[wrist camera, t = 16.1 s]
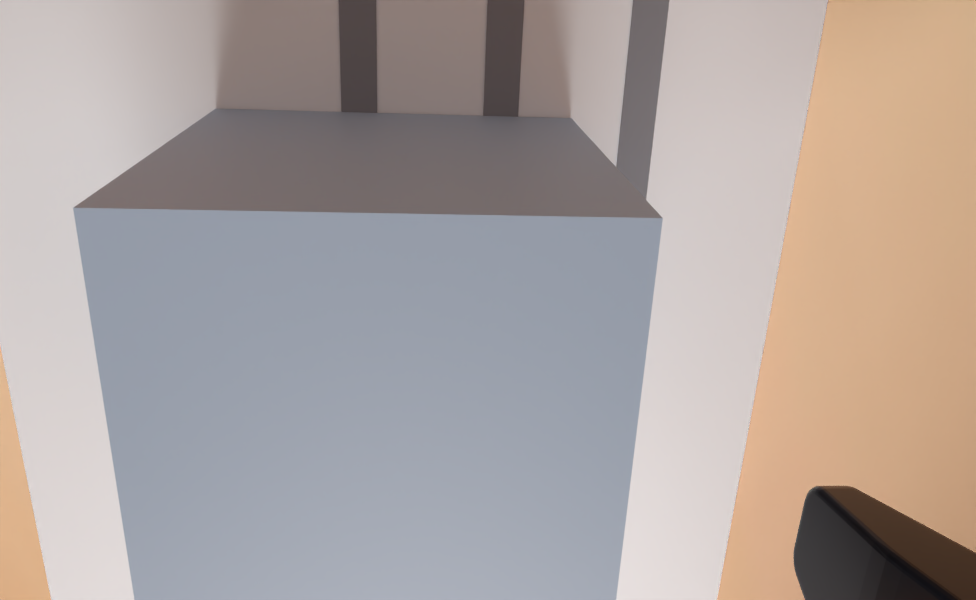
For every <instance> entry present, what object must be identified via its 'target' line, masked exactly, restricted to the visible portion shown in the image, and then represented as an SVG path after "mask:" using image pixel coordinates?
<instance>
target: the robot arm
mask: <svg viewBox="0 0 976 600" xmlns="http://www.w3.org/2000/svg"><path fill="white" fill-rule="evenodd" d="M794 567H795V572H796V575H797V578H798V581H799V584H800V587H801V590H802V592H803V595H804V598H805V600H976V553H975V552H973V551H971V550H969V549H967V548H966V547H964V546H962V545H960V544H958V543H956V542H954V541H952V540H951V539H949V538H947V537H945V536H943V535H941V534H939V533H938V532H936V531H934V530H932V529H930V528H928V527H926V526H925V525H923V524H921V523H919V522H917V521H915V520H913V519H911V518H910V517H908V516H906V515H904V514H902V513H900V512H898V511H897V510H895V509H893V508H891V507H889V506H887V505H885V504H884V503H882V502H880V501H878V500H876V499H874V498H872V497H870V496H869V495H867V494H865V493H863V492H861V491H859V490H857V489H855V488H853V487H849V486H816V487H814V488H812V489H811V490H810V491H809V492H808V494H807V496H806V499H805V502H804V507H803V511H802V516H801V520H800V525H799V529H798V534H797V538H796V543H795V547H794Z"/></svg>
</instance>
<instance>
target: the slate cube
mask: <svg viewBox="0 0 976 600" xmlns="http://www.w3.org/2000/svg"><path fill="white" fill-rule="evenodd" d="M73 211H74V217H75V224H76V230H77V236H78V243H79V249H80V255H81V262H82V268H83V275H84V281H85V287H86V294H87V300H88V306H89V313H90V319H91V326H92V332H93V338H94V345H95V351H96V358H97V364H98V370H99V377H100V383H101V389H102V396H103V402H104V409H105V415H106V421H107V428H108V434H109V440H110V447H111V453H112V460H113V466H114V472H115V479H116V485H117V492H118V498H119V504H120V511H121V517H122V523H123V530H124V536H125V543H126V549H127V555H128V562H129V568H130V575H131V581H132V587H133V594H134V600H616V596H617V588H618V580H619V572H620V564H621V556H622V547H623V539H624V531H625V523H626V515H627V507H628V498H629V490H630V482H631V474H632V466H633V458H634V449H635V441H636V433H637V425H638V417H639V409H640V400H641V392H642V384H643V376H644V368H645V360H646V351H647V343H648V335H649V327H650V319H651V311H652V303H653V294H654V286H655V278H656V270H657V262H658V254H659V245H660V237H661V229H662V221H663V218H662V217H661V216H660V215H659V213H658V212H657V211H656V210H655V209H654V208H653V207H652V206H651V205H650V204H649V203H648V201H647V200H646V199H645V198H644V197H643V196H642V195H641V194H640V193H639V192H638V190H637V189H636V188H635V187H634V186H633V185H632V184H631V183H630V182H629V181H628V180H627V178H626V177H625V176H624V175H623V174H622V173H621V172H620V171H619V170H618V169H617V168H616V166H615V165H614V164H613V163H612V162H611V161H610V160H609V159H608V158H607V157H606V156H605V154H604V153H603V152H602V151H601V150H600V149H599V148H598V147H597V146H596V145H595V143H594V142H593V141H592V140H591V139H590V138H589V137H588V136H587V135H586V134H585V133H584V131H583V130H582V129H581V128H580V127H579V126H578V125H577V124H576V123H575V122H574V121H573V119H572V118H548V117H511V116H473V115H436V114H399V113H362V112H324V111H287V110H250V109H214V110H213V111H211V112H210V113H209V114H207V115H206V116H204V117H203V118H201V119H200V120H198V121H197V122H196V123H194V124H193V125H191V126H190V127H188V128H187V129H186V130H184V131H183V132H181V133H180V134H178V135H177V136H175V137H174V138H173V139H171V140H170V141H168V142H167V143H165V144H164V145H163V146H161V147H160V148H158V149H157V150H155V151H154V152H152V153H151V154H150V155H148V156H147V157H145V158H144V159H142V160H141V161H140V162H138V163H137V164H135V165H134V166H132V167H131V168H130V169H128V170H127V171H125V172H124V173H122V174H121V175H119V176H118V177H117V178H115V179H114V180H112V181H111V182H109V183H108V184H107V185H105V186H104V187H102V188H101V189H99V190H98V191H96V192H95V193H94V194H92V195H91V196H89V197H88V198H86V199H85V200H84V201H82V202H81V203H79V204H78V205H76V206H75V207H73Z"/></svg>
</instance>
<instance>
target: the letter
mask: <svg viewBox="0 0 976 600" xmlns="http://www.w3.org/2000/svg"><path fill="white" fill-rule="evenodd" d="M827 3H828V0H0V347H1V351H2V356H3V361H4V366H5V371H6V376H7V381H8V386H9V391H10V396H11V401H12V406H13V411H14V416H15V421H16V426H17V431H18V436H19V441H20V446H21V451H22V456H23V461H24V466H25V471H26V476H27V481H28V486H29V491H30V496H31V501H32V506H33V511H34V516H35V521H36V526H37V531H38V536H39V541H40V546H41V551H42V556H43V561H44V566H45V571H46V576H47V581H48V586H49V591H50V596H51V600H134V594H133V587H132V581H131V575H130V568H129V562H128V555H127V549H126V543H125V536H124V530H123V523H122V517H121V511H120V504H119V498H118V492H117V485H116V479H115V472H114V466H113V460H112V453H111V447H110V440H109V434H108V428H107V421H106V415H105V409H104V402H103V396H102V389H101V383H100V377H99V370H98V364H97V358H96V351H95V345H94V338H93V332H92V326H91V319H90V313H89V306H88V300H87V294H86V287H85V281H84V275H83V268H82V262H81V255H80V249H79V243H78V236H77V230H76V224H75V217H74V211H73V207H75V206H76V205H78V204H79V203H81V202H82V201H84V200H85V199H86V198H88V197H89V196H91V195H92V194H94V193H95V192H96V191H98V190H99V189H101V188H102V187H104V186H105V185H107V184H108V183H109V182H111V181H112V180H114V179H115V178H117V177H118V176H119V175H121V174H122V173H124V172H125V171H127V170H128V169H130V168H131V167H132V166H134V165H135V164H137V163H138V162H140V161H141V160H142V159H144V158H145V157H147V156H148V155H150V154H151V153H152V152H154V151H155V150H157V149H158V148H160V147H161V146H163V145H164V144H165V143H167V142H168V141H170V140H171V139H173V138H174V137H175V136H177V135H178V134H180V133H181V132H183V131H184V130H186V129H187V128H188V127H190V126H191V125H193V124H194V123H196V122H197V121H198V120H200V119H201V118H203V117H204V116H206V115H207V114H209V113H210V112H211V111H213V110H214V109H250V110H287V111H324V112H362V113H399V114H436V115H473V116H511V117H548V118H572V119H573V121H574V122H575V123H576V124H577V125H578V126H579V127H580V128H581V129H582V130H583V131H584V133H585V134H586V135H587V136H588V137H589V138H590V139H591V140H592V141H593V142H594V143H595V145H596V146H597V147H598V148H599V149H600V150H601V151H602V152H603V153H604V154H605V156H606V157H607V158H608V159H609V160H610V161H611V162H612V163H613V164H614V165H615V166H616V168H617V169H618V170H619V171H620V172H621V173H622V174H623V175H624V176H625V177H626V178H627V180H628V181H629V182H630V183H631V184H632V185H633V186H634V187H635V188H636V189H637V190H638V192H639V193H640V194H641V195H642V196H643V197H644V198H645V199H646V200H647V201H648V203H649V204H650V205H651V206H652V207H653V208H654V209H655V210H656V211H657V212H658V213H659V215H660V216H661V217H662V218H663V221H662V229H661V237H660V245H659V254H658V262H657V270H656V278H655V286H654V294H653V303H652V311H651V319H650V327H649V335H648V343H647V351H646V360H645V368H644V376H643V384H642V392H641V400H640V409H639V417H638V425H637V433H636V441H635V449H634V458H633V466H632V474H631V482H630V490H629V498H628V507H627V515H626V523H625V531H624V539H623V547H622V556H621V564H620V572H619V580H618V588H617V596H616V600H717V597H718V592H719V586H720V581H721V575H722V570H723V565H724V559H725V554H726V548H727V543H728V538H729V532H730V527H731V521H732V516H733V511H734V505H735V500H736V494H737V489H738V484H739V478H740V473H741V467H742V462H743V457H744V451H745V446H746V440H747V435H748V430H749V424H750V419H751V413H752V408H753V403H754V397H755V392H756V386H757V381H758V376H759V370H760V365H761V359H762V354H763V349H764V343H765V338H766V332H767V327H768V322H769V316H770V311H771V305H772V300H773V295H774V289H775V284H776V279H777V273H778V268H779V262H780V257H781V252H782V246H783V241H784V235H785V230H786V225H787V219H788V214H789V208H790V203H791V198H792V192H793V187H794V181H795V176H796V171H797V165H798V160H799V154H800V149H801V144H802V138H803V133H804V127H805V122H806V117H807V111H808V106H809V100H810V95H811V90H812V84H813V79H814V73H815V68H816V63H817V57H818V52H819V46H820V41H821V36H822V30H823V25H824V19H825V14H826V9H827Z"/></svg>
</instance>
